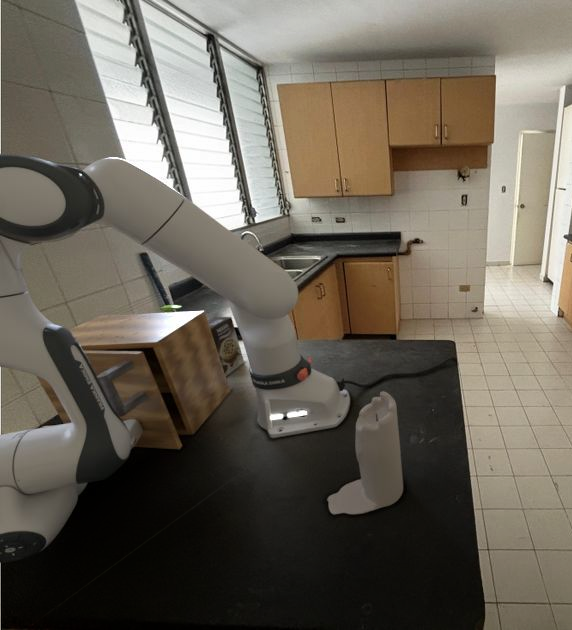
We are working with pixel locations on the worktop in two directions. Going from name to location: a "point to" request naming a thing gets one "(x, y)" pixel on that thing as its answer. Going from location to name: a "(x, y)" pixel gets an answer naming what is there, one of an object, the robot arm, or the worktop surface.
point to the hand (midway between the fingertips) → (90, 425)
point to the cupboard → (167, 358)
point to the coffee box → (226, 343)
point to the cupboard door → (129, 396)
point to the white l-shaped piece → (373, 461)
